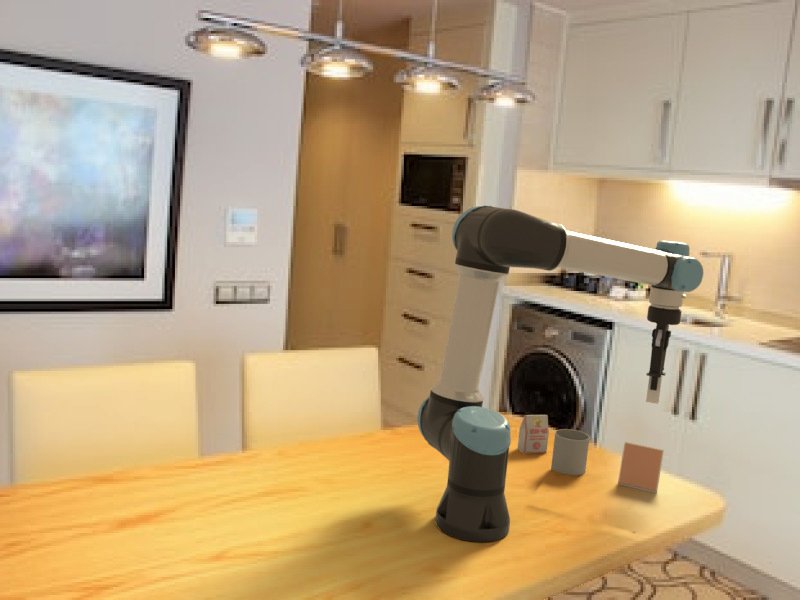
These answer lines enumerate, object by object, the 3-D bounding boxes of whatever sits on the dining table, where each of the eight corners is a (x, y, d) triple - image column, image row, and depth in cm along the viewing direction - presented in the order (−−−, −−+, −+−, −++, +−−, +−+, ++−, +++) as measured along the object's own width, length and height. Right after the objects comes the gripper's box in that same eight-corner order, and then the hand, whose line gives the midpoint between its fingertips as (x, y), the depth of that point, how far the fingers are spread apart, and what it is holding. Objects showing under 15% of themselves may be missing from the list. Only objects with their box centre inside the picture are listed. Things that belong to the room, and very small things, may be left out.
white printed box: (517, 448, 202) (521, 413, 200) (540, 448, 204) (544, 412, 202) (523, 453, 199) (527, 417, 197) (546, 453, 200) (550, 417, 199)
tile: (625, 441, 181) (624, 441, 181) (663, 449, 178) (663, 450, 177) (617, 484, 180) (617, 485, 180) (656, 494, 177) (656, 494, 176)
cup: (575, 482, 182) (580, 442, 180) (545, 472, 186) (549, 433, 185) (590, 473, 188) (594, 435, 187) (559, 464, 193) (564, 426, 192)
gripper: (679, 311, 171) (665, 411, 175) (684, 305, 183) (671, 398, 187) (645, 307, 174) (632, 405, 178) (652, 301, 187) (640, 392, 190)
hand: (652, 401), depth 182 cm, fingers closed
